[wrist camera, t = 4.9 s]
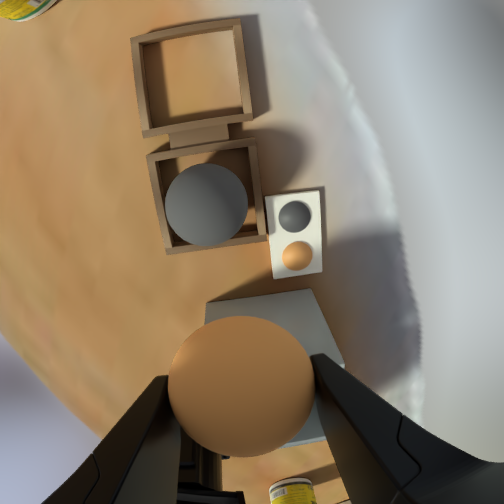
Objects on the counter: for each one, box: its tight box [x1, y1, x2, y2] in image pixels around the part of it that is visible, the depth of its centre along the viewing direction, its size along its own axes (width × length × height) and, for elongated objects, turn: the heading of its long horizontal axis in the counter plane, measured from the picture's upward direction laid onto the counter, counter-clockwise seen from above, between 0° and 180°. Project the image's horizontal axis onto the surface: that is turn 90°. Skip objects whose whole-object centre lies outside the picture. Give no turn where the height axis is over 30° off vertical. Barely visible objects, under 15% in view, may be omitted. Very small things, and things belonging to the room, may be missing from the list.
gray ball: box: [165, 163, 248, 246], centre depth 15 cm, size 4×4×4 cm
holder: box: [130, 18, 267, 255], centre depth 15 cm, size 12×6×1 cm, turn 7°
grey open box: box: [204, 288, 345, 449], centre depth 18 cm, size 7×7×7 cm
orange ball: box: [168, 316, 316, 457], centre depth 8 cm, size 4×4×4 cm
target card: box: [265, 190, 322, 279], centre depth 18 cm, size 5×3×1 cm, turn 7°
